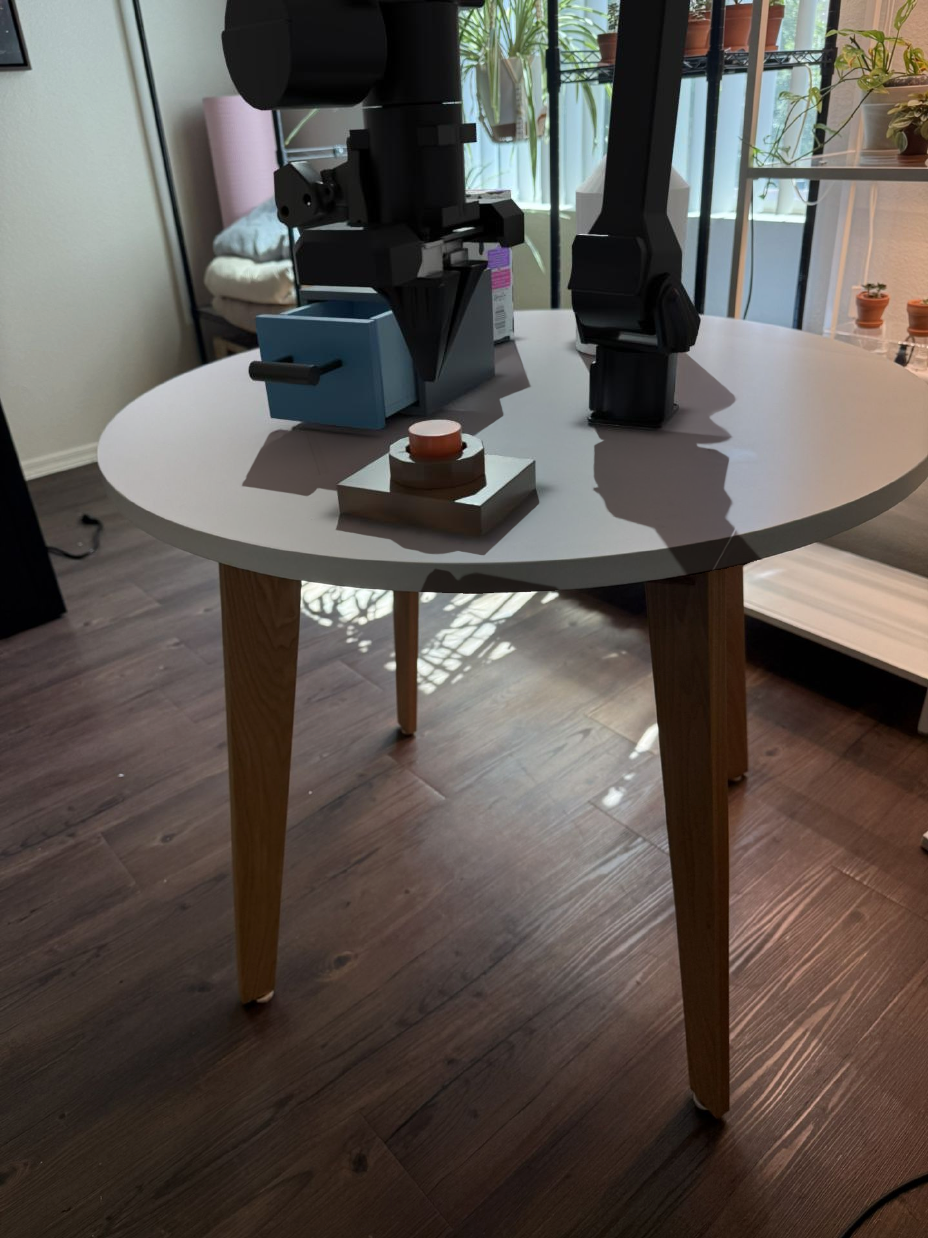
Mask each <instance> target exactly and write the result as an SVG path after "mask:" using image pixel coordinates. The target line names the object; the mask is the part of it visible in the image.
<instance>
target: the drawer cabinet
mask: <svg viewBox="0 0 928 1238" xmlns="http://www.w3.org/2000/svg"><path fill="white" fill-rule="evenodd" d="M298 295H299V299H300V307H302V306H306V305H309V304H312V303H315V302H318V301H321V300H331V301H355V302H379V303H387V301H386V300H385V299H384V298H383V297H382V296H380V295H379V294H378V293H377V292H376V291H374V290H373V289H372V288H366V287H337V286H309V287H308V286H307V287H305V288H302V289H299V290H298ZM495 367H496V366H495V344H494V335H493V303H492V271H491V268H487V269H486V270H484V271H483V273H482V275H481V277H480V280H479V282H478V284H477V287H476V289H475V291H474V294H473V296H472V298H471V301H470V303H469V305H468V308H467V310H466V312H465V315H464V317H463V320H462V323H461V325H460V327H459V330H458V333H457V335H456V338H455V341H454V343H453V346H452V349H451V351H450V354H449V356H448V359H447V362H446V364H445V367H444V370H443V372H442V375H441V377H440V379H438V380H436V381H434V382H425V381H422V380H421V379H420V378H419V375H418V373H417V379H418V392H419V400H417V401H415V402H414V403H412V404H410V405H408V406H406V407H405V408H403V409H401V410H399V411H397V412H395V413H394V414H403V415H404V414H405V415H412V416H423V417H429V416H431V415H432V414H434V413H435V412H437V411H439V410H441V409H442V408H444V407H447V406H448V405H450V404H451V403H453V402H454V401H457V400H458V399H460V398H461V397H463V396H464V395H466V394H468V393H469V392H471V391H473V390H475V389H476V388H478V387H479V386H481V385H483V384H485V383H487V382H488V381H490V380H491V379H493V378H495V377H496V370H495V369H496V368H495Z"/></svg>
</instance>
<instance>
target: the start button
mask: <svg viewBox="0 0 928 1238" xmlns="http://www.w3.org/2000/svg"><path fill="white" fill-rule="evenodd" d="M407 430H408V431H407V432H408V437H409V445H410V454H411V455H413V456H419V457H428V458H433V457H446V456H450V455H453V454H457V453H460V452H461V451H462V434H463V432H462V425H461V423H459V422H457V421H454V420H449V419H430V420H423V421H419V422H416V423H413V424H411V425H410V426H409V427H408V429H407Z"/></svg>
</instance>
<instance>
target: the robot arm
mask: <svg viewBox="0 0 928 1238" xmlns="http://www.w3.org/2000/svg"><path fill="white" fill-rule="evenodd" d="M691 1H692V0H619V3H618V4H619V6H618V18H617V28H616V31H617V32H616V40H615V52H614V63H613V75H612V86H611V96H610V110H609V122H608V133H607V142H606V143H607V145H606V154H607V155H606V154H605V155H606V166H605V178H604V189H603V201H602V208H601V212H600V214H599V216H598V217H597V219H596V221H595V222H594V224H593V225H592V227H591V229H590V230H589V232H588V234H577V235H576V234H575V236H574V237H573V241H572V243H571V269H570V276H569V280H568V283H567V286H566V288H567V290H568V291H570V297H571V298H570V299H571V309H572V312H573V313H574V314H573V315H574V317H575V324H576V323H577V328H578V332H579V337H580V341H581V344H586V345H587V344H594V345H597V346H596V355H595V360H593V361H592V362H591V363H590V364H589V375H588V376H589V378H588V380H589V383H588V409H589V410H590V411H591V413H590V414H589V415H587V421H586V422H587V423H589V424H595V425H597V424H598V425H604V426H605V425H607V426H617V427H627V428H635V429H636V428H638V429H649V430H661V429H662V428H663V427H664V426H666V424H667V423H668V422H669V421H670V420H671V419H672V418H673V417H674V416H675V414H677V412H679V410H680V404H679V403H677V402H675V398H676V397H675V395H676V381H677V369H678V368H677V367H678V356H679V355H678V354H686V353H688V352H690V351H691V348H692V347H695V345H696V343H697V338H698V335H699V330H700V327H701V322H702V318H701V315H699V312H698V311H697V308H696V307H695V305H694V302H693V301H692V299H691V297H690V295H689V293H688V292H687V290H686V287H685V286H684V284H683V281H682V282H681V277H682V278H683V274H682V249H681V247H680V244H679V242H678V240H677V237H676V235H675V232H674V230H673V228H672V225H671V223H670V221H669V218H668V216H667V203H668V194H669V185H670V176H671V168H672V166H673V159H674V149H675V140H676V133H677V132H676V131H677V125H678V124H677V123H678V116H679V115H678V114H679V105H680V98H681V90H682V89H681V88H682V80H683V73H684V72H683V69H684V62H685V53H686V47H687V45H686V43H687V36H688V27H689V19H690V10H691ZM485 4H486V0H226V3H225V11H224V21H223V23H224V24H223V25H224V28H223V29H224V30H222V31H221V33H220V35H221V36H220V38H221V46H222V47H221V48H222V53H223V57H224V61H225V66H226V69H227V71H228V74H229V76H230V79H231V82H232V83H233V86H234V87H235V89H236V91H237V93H238V94H239V96H240V97H241V98H242V100H243V101H244V102H245V103H246V104H247V105H249V106H250V107H251V108H252V109H256V110H258V111H262V112H263V111H266V112H267V111H290V110H291V111H293V110H319V109H320V110H322V109H345V108H346V109H347V108H354V107H356V106H357V105H360V104H361V107H362V109H361V110H362V111H361V112H362V121H363V128H356V129H355V128H354V129H348V133H349V135H347V137H346V140H345V141H346V142H345V147H346V154H347V156H346V157H347V159H346V161H344V162H342V163H340V164H339V165H337V166H335V167H332V168H324V169H322V170H320V171H318V170H317V169H315V167H314V166H313V165H312V164H311V163H310V162H309V161H306V160H304V161H294V162H289V163H285V164H284V165H283V166H281V167H279V168H278V169H276V170H274V171H273V173H272V174H273V191H274V192H273V193H274V204H275V207H276V210H277V211H276V217H277V220H278V221H279V222H280V223H281V224H283V225H284V226H286V227H287V228H288V229H297V232H298V234H299V237H298V238H297V240H296V241H295V243H294V245H293V246H292V255H293V262H294V269H295V277H296V284H298V285H299V286H307V287H308V286H309V287H312V286H337V287H366V288H372V289H373V290H374V291H376V292H377V293H378V294H379V295H380V296H382V297H383V298H384V299H385V300H386V301H387V303H388V304H389V306H390V308H391V310H392V312H393V315H394V317H395V319H396V321H397V323H398V325H399V328H400V330H401V332H402V335H403V338H404V340H405V343H406V345H407V348H408V350H409V353H410V355H411V358H412V360H413V363H414V365H415V368H416V370H417V373H418V375H419V378H420V379H421V380H422V381H425V382H434V381H436V380H438V379H440V377H441V375H442V372H443V370H444V367H445V364H446V362H447V359H448V356H449V354H450V351H451V349H452V346H453V343H454V341H455V338H456V335H457V333H458V330H459V327H460V325H461V323H462V320H463V317H464V315H465V312H466V310H467V308H468V305H469V303H470V301H471V298H472V296H473V294H474V291H475V289H476V287H477V284H478V282H479V280H480V277H481V275H482V273H483V271H484V270H486V269H487V267H488V261H487V260H469V258H468V248H463V243H465V242H471V243H499V244H500V246H501V248H510V247H512V248H514V247H516V246H519V245H522V244H525V243H526V242H525V241H526V240H525V239H526V238H525V235H526V234H525V229H526V228H525V212H524V211H523V210H522V208H521V207H520V206H519V205H518V204H517V203H516V201H515V200H514V199H513V198H512V197H511V198H510V199H466V189H467V187H466V186H467V185H466V165H465V164H466V163H465V144H473V143H474V144H475V143H478V138H477V137H478V133H477V122H464V120H463V119H464V115H463V103H462V102H463V94H462V92H463V91H462V71H461V70H462V69H461V68H462V65H461V44H460V23H459V22H460V21H459V20H460V19H459V12H464V11H472V10H477V9H478V10H479V9H481V8H483V7H484V6H485ZM590 411H589V412H590Z"/></svg>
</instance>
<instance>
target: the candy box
mask: <svg viewBox="0 0 928 1238" xmlns="http://www.w3.org/2000/svg"><path fill="white" fill-rule="evenodd" d="M510 198H512V190H511V189H490V188H489V189H488V188H487V189H486V188H485V189H483V188H482V189H479V188H477V189H476V188H473V189H471V188H468V189H467V188H466V199H510ZM463 248H468V258H469V260H487V261H488V267H487V268H491V271H492V303H493V335H494V345H495V344H500V343H502V342H506V341H509V340H513V339H514V338H515V310H514V308H515V307H514V272H513V271H514V270H513V269H514V268H513V247H510V248H501V246H500V244H499V243H471V242H465V243H463Z"/></svg>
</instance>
